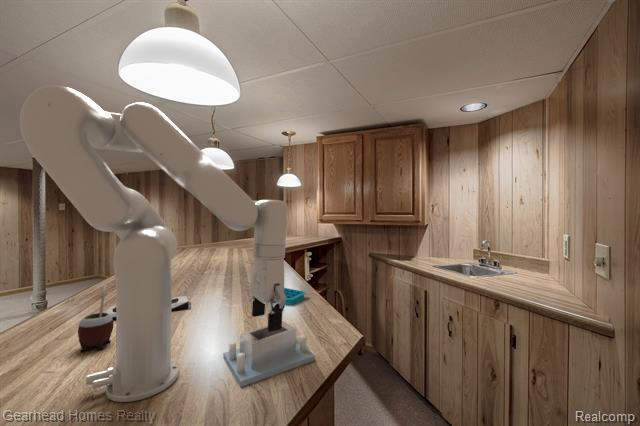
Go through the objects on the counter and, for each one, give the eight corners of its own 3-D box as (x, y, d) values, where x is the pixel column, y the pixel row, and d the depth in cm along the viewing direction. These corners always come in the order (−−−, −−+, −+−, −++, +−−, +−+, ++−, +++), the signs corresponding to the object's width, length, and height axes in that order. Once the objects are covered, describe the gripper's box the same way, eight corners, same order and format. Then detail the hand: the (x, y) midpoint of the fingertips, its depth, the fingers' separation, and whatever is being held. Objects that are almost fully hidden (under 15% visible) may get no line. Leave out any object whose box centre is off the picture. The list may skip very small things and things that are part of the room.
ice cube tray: (269, 291, 121) (270, 284, 121) (307, 299, 111) (307, 292, 111) (251, 298, 111) (251, 291, 111) (290, 307, 101) (290, 299, 101)
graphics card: (191, 301, 97) (103, 313, 84) (191, 310, 97) (103, 324, 84) (189, 293, 106) (109, 303, 93) (188, 302, 106) (108, 313, 93)
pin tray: (240, 387, 54) (240, 364, 54) (223, 357, 65) (223, 338, 65) (314, 360, 64) (315, 340, 64) (289, 338, 75) (289, 322, 75)
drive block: (251, 369, 58) (252, 343, 58) (239, 357, 63) (239, 334, 63) (296, 350, 66) (296, 328, 66) (282, 341, 71) (282, 320, 71)
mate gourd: (85, 357, 65) (85, 294, 64) (71, 348, 68) (72, 289, 68) (120, 344, 71) (121, 287, 71) (106, 337, 75) (106, 283, 75)
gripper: (242, 247, 70) (239, 313, 69) (269, 257, 55) (265, 340, 55) (269, 246, 74) (266, 308, 74) (301, 255, 60) (297, 333, 59)
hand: (265, 322), depth 64 cm, fingers open, 9 cm apart
